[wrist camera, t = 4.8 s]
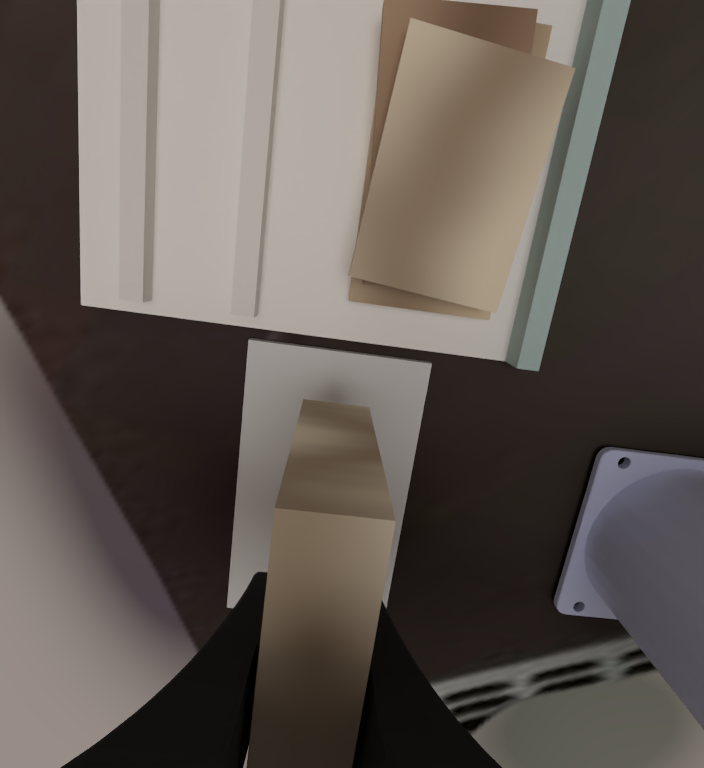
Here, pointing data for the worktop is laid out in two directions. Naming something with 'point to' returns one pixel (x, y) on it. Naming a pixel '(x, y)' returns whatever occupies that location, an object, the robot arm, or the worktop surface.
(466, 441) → the worktop surface
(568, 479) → the worktop surface
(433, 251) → the offcut stack
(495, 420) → the worktop surface
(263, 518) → the felt pad
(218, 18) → the board
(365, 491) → the birch panel
